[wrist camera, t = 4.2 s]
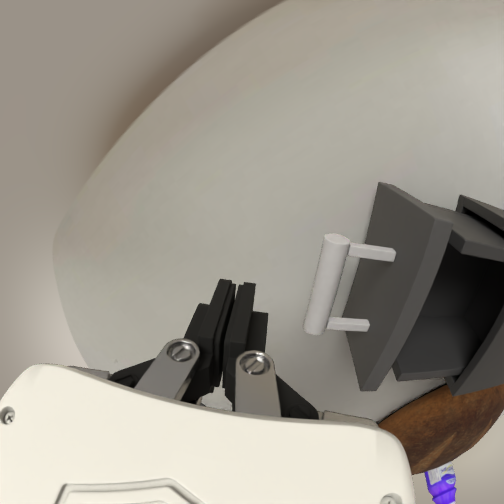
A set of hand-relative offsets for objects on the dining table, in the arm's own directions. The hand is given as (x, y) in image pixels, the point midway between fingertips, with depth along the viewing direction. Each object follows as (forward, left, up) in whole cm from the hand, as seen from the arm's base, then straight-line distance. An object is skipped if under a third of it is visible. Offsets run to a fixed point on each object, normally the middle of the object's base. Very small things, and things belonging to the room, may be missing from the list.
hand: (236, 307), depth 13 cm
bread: (+42, +8, -9) cm, 44 cm away
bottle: (+64, +6, -9) cm, 65 cm away
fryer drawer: (+8, +10, -7) cm, 15 cm away
